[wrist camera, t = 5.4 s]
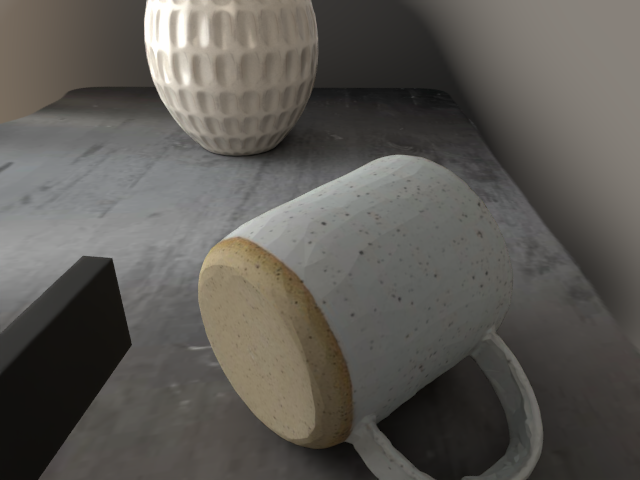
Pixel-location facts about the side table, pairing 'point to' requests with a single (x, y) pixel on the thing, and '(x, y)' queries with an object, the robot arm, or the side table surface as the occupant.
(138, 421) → the side table surface
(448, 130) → the side table surface
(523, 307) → the side table surface
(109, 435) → the side table surface
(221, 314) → the ceramic mug
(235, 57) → the vase
